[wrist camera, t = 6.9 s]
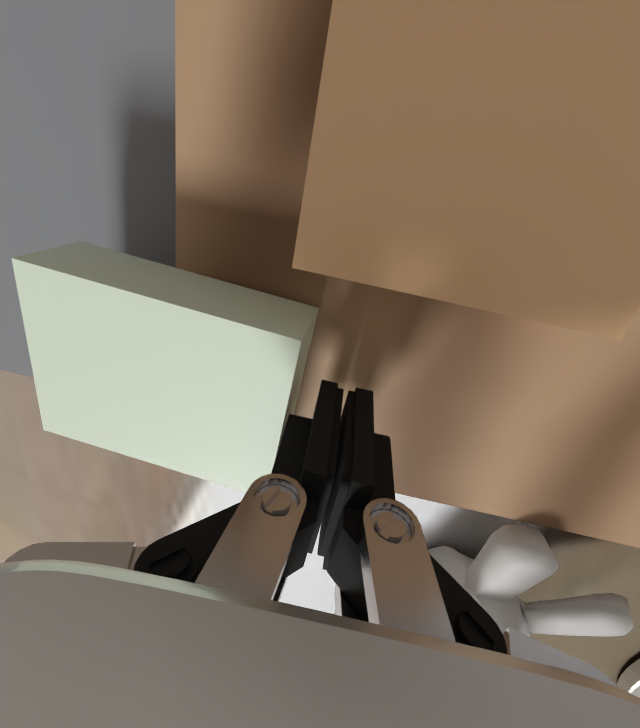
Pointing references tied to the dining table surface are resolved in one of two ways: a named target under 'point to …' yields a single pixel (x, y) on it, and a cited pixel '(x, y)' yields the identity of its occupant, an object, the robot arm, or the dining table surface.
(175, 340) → the sage tile
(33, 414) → the dining table surface
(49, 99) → the grey square tray
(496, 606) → the bunny figurine
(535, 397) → the board
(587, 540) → the dining table surface
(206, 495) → the dining table surface
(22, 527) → the dining table surface
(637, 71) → the light orange flat block
